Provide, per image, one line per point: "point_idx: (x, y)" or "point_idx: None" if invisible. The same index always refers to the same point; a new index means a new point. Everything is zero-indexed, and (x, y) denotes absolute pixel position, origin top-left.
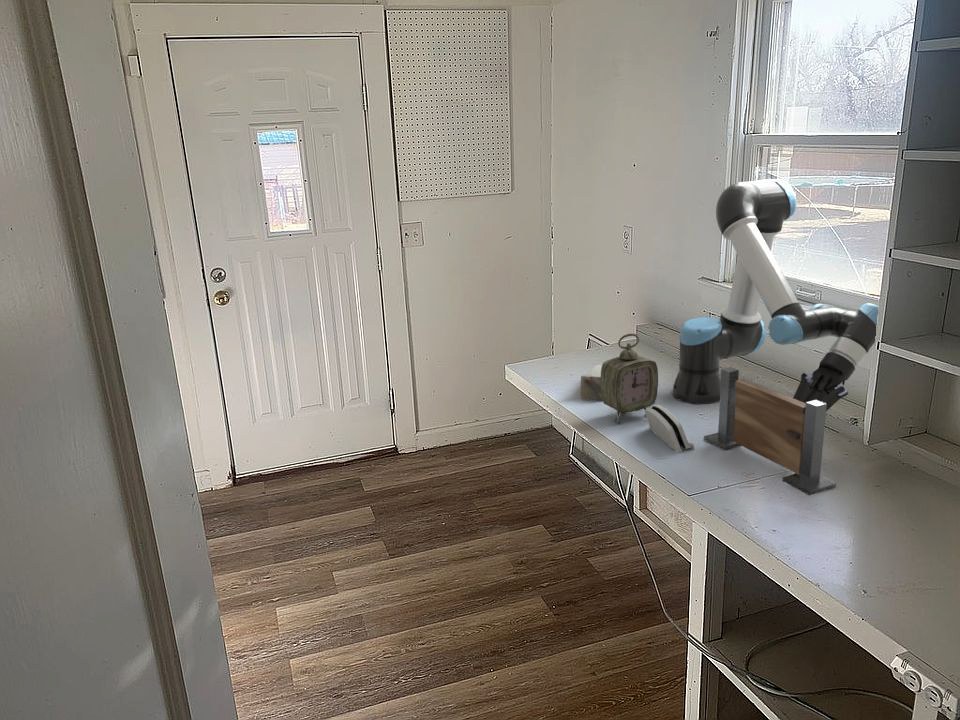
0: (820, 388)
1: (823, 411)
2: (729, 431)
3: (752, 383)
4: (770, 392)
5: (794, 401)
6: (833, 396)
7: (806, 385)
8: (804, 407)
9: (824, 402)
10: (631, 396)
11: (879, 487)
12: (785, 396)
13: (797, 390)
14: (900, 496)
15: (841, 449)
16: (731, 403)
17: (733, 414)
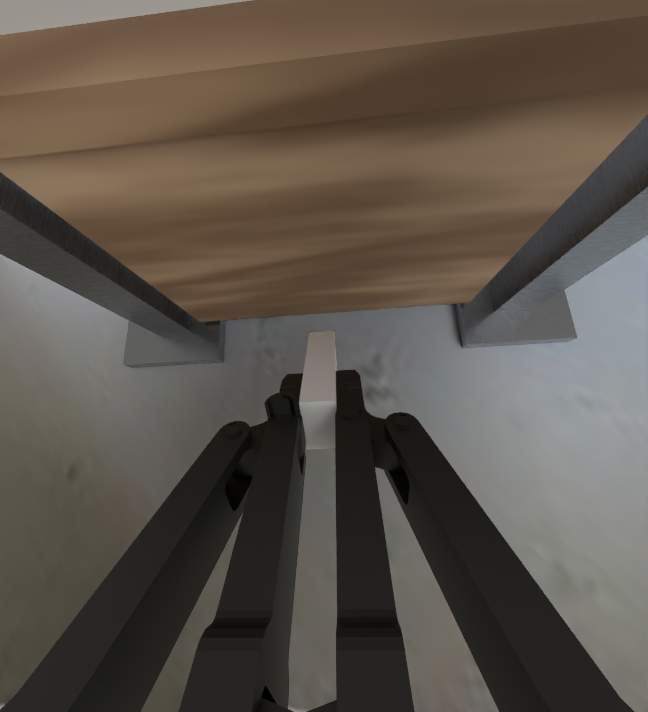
0: (222, 660)
1: None
2: (506, 271)
3: (593, 8)
4: (300, 20)
5: (36, 60)
6: (68, 642)
7: (512, 692)
8: None
9: (156, 526)
10: None
11: (63, 471)
12: (154, 62)
13: (486, 530)
14: (3, 477)
15: (294, 602)
16: (595, 185)
17: (552, 244)
